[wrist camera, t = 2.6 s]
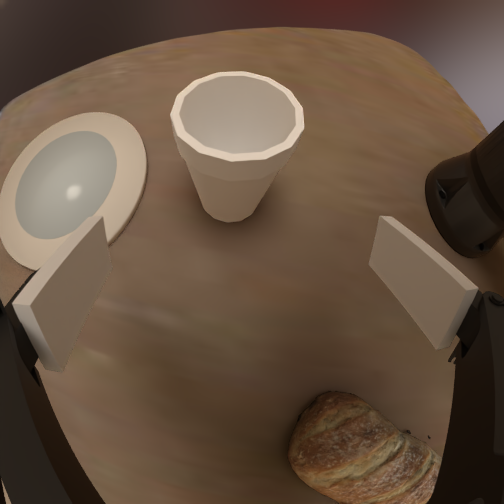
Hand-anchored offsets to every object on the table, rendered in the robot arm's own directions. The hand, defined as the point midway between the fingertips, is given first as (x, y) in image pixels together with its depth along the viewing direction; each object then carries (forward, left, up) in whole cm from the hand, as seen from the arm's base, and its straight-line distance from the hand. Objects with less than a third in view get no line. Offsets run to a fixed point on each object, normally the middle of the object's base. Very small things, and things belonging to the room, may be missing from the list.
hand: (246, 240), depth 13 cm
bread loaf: (+2, +28, -16) cm, 32 cm away
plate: (+7, -23, -15) cm, 29 cm away
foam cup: (-7, -8, -16) cm, 19 cm away
